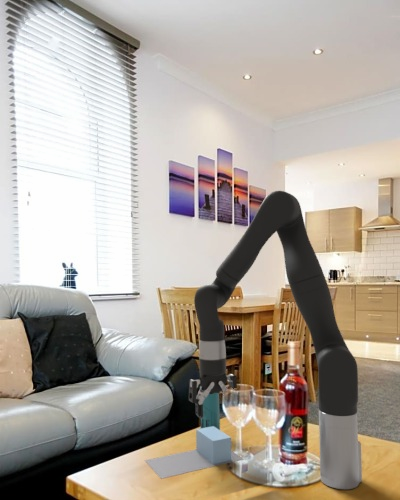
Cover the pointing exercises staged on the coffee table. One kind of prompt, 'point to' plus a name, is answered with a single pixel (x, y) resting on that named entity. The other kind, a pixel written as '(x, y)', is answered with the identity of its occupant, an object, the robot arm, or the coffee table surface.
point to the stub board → (183, 463)
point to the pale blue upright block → (213, 444)
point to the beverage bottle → (211, 411)
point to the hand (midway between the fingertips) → (214, 414)
